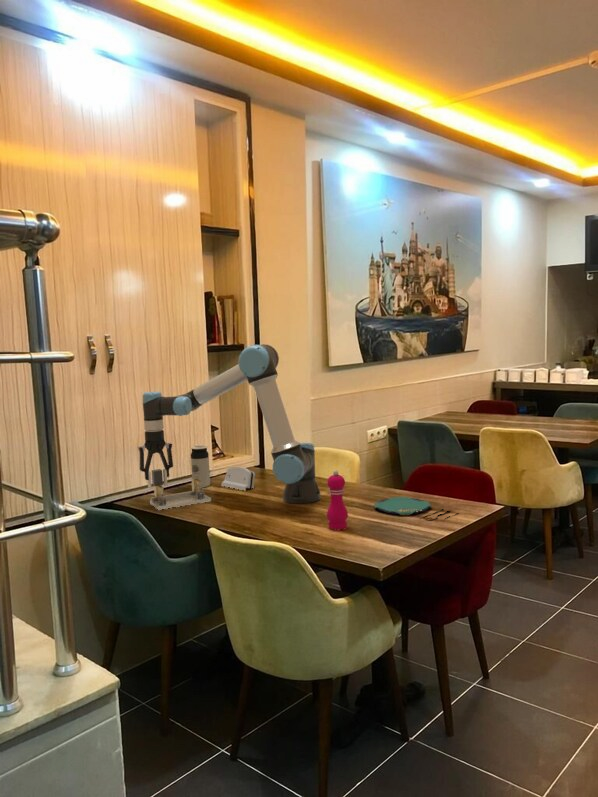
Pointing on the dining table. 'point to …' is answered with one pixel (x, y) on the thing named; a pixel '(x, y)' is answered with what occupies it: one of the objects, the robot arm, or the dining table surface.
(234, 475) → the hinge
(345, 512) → the pepper mill
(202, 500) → the bolt plate
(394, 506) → the teal flat plaque
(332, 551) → the dining table surface
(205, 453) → the travel mug
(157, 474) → the sliding leg
